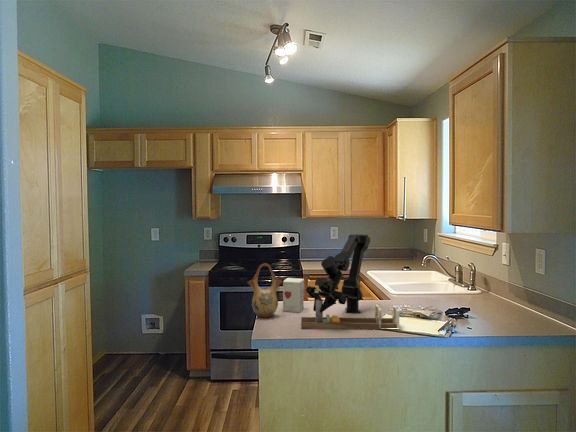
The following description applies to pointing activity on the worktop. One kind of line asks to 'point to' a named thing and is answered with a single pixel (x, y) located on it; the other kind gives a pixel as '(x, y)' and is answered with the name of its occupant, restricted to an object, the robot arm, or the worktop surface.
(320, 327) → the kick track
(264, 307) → the ceramic vessel
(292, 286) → the supplement box
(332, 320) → the orange ball
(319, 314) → the striker sled
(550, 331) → the worktop surface
